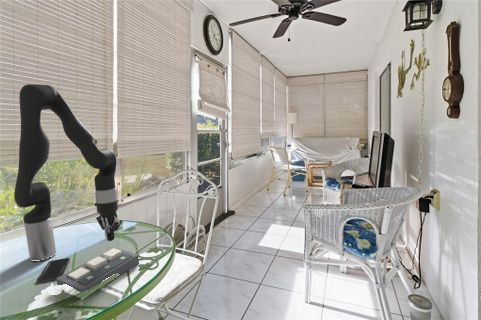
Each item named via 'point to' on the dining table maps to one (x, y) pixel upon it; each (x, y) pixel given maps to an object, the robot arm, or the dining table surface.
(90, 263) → the key
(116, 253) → the key
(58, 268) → the phone
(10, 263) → the dining table surface
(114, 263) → the keypad
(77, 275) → the key
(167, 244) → the dining table surface
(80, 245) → the dining table surface
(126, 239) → the dining table surface
